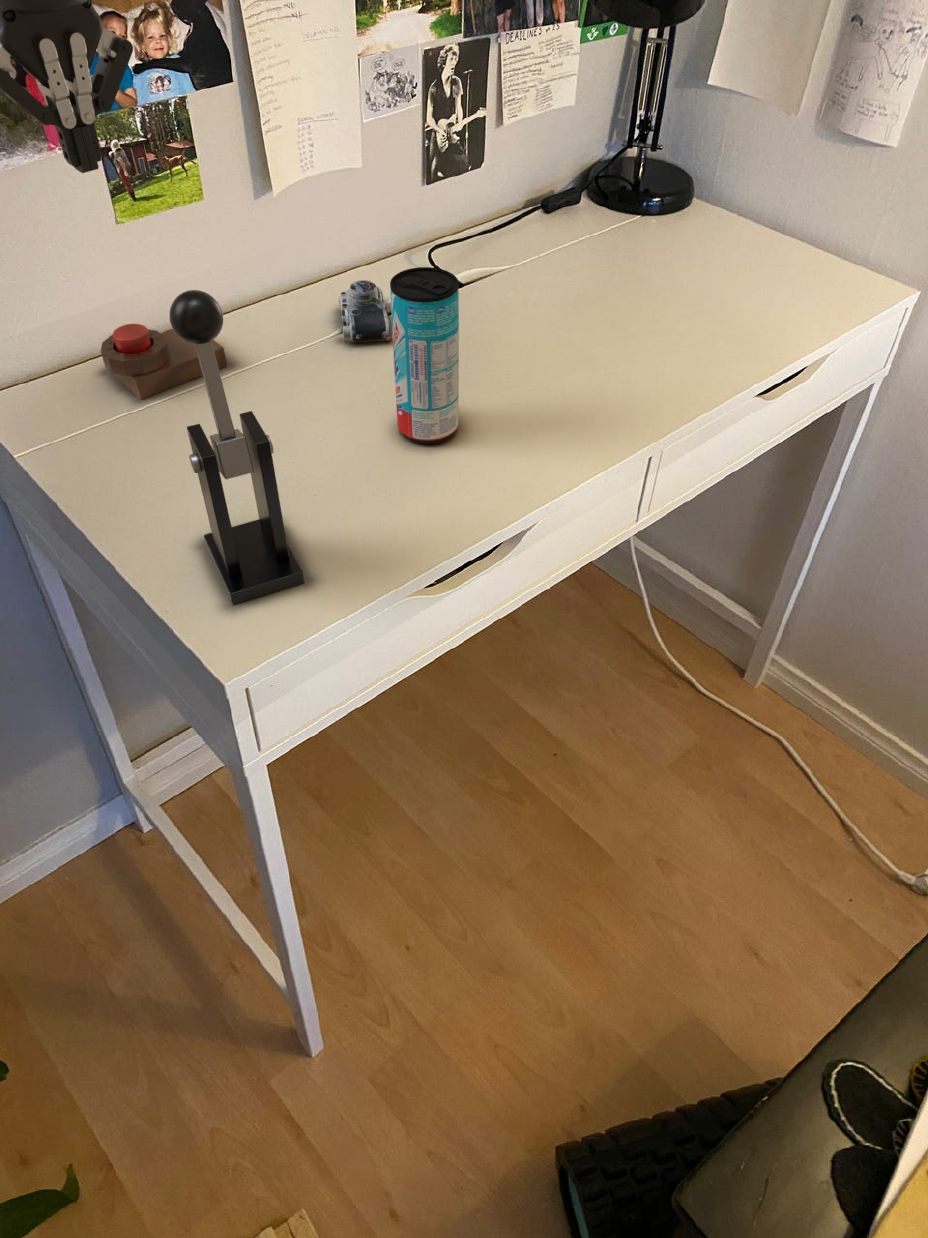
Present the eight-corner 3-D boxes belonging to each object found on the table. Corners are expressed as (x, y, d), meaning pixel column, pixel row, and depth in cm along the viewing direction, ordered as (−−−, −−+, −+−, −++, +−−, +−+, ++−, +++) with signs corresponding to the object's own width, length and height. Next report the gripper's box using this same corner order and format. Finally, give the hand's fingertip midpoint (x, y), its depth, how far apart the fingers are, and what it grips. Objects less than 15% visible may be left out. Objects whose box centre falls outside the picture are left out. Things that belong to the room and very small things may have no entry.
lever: (159, 292, 66) (167, 299, 63) (210, 282, 67) (220, 288, 64) (208, 470, 73) (218, 484, 70) (253, 458, 74) (265, 471, 71)
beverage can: (429, 405, 96) (426, 260, 85) (471, 430, 93) (473, 282, 82) (385, 429, 93) (375, 281, 82) (426, 455, 90) (421, 305, 79)
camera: (344, 348, 103) (340, 312, 100) (339, 304, 111) (336, 268, 108) (391, 345, 104) (389, 309, 101) (383, 301, 111) (381, 266, 108)
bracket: (205, 545, 80) (173, 415, 71) (274, 525, 82) (251, 396, 73) (232, 605, 75) (201, 473, 66) (304, 582, 77) (284, 451, 68)
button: (126, 359, 95) (122, 343, 93) (111, 346, 97) (106, 330, 95) (157, 348, 96) (153, 332, 95) (141, 335, 98) (137, 319, 97)
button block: (130, 403, 96) (120, 368, 93) (99, 375, 99) (88, 340, 97) (227, 366, 101) (220, 331, 98) (194, 340, 105) (186, 306, 102)
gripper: (-47, -51, 67) (31, 201, 79) (126, -75, 73) (174, 162, 85) (-85, -68, 71) (-4, 174, 83) (83, -89, 77) (135, 139, 89)
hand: (86, 168), depth 84 cm, fingers closed
